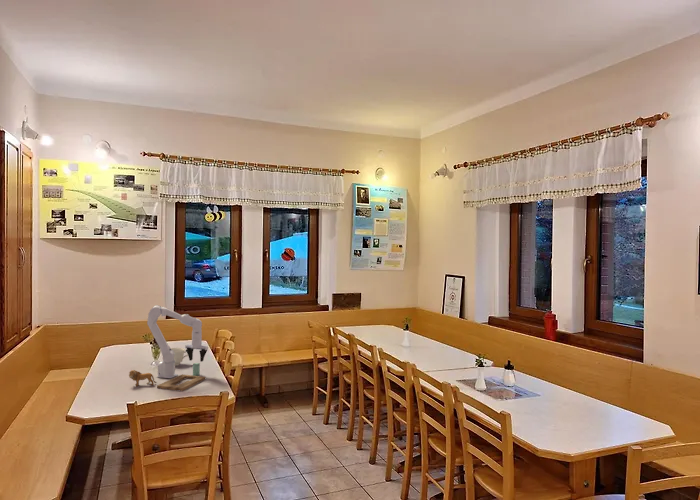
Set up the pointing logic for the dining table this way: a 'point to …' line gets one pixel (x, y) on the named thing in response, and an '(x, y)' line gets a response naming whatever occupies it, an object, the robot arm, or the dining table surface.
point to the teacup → (179, 355)
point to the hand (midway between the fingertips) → (196, 360)
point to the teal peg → (196, 369)
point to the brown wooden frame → (171, 383)
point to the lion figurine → (140, 377)
